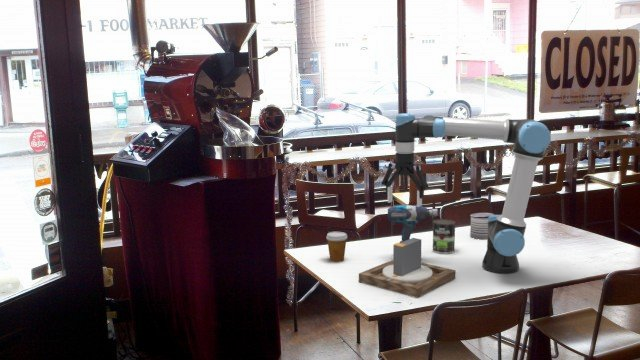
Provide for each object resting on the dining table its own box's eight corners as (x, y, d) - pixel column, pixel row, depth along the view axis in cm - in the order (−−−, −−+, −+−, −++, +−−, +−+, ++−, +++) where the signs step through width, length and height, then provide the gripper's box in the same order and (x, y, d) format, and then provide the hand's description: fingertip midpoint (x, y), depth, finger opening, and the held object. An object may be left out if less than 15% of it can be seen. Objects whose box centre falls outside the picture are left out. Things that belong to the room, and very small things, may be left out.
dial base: (455, 278, 257) (455, 269, 257) (417, 297, 237) (417, 288, 236) (398, 265, 276) (398, 256, 275) (358, 281, 255) (358, 273, 255)
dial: (401, 264, 270) (401, 232, 267) (441, 274, 257) (442, 240, 254) (372, 276, 255) (372, 242, 253) (414, 287, 242) (414, 251, 239)
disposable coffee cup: (351, 259, 285) (351, 233, 283) (338, 264, 278) (337, 238, 276) (336, 255, 291) (335, 230, 289) (322, 260, 285) (321, 234, 282)
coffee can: (452, 255, 289) (453, 225, 287) (430, 252, 293) (430, 223, 290) (456, 248, 299) (457, 220, 296) (435, 246, 302) (435, 218, 300)
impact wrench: (437, 263, 278) (438, 207, 273) (386, 260, 282) (386, 206, 278) (438, 257, 285) (439, 203, 281) (388, 255, 290) (388, 202, 285)
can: (479, 241, 311) (479, 217, 309) (465, 235, 322) (465, 212, 319) (497, 238, 316) (498, 214, 314) (483, 232, 326) (483, 210, 324)
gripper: (437, 153, 248) (436, 205, 252) (383, 149, 263) (382, 199, 267) (428, 155, 242) (427, 209, 246) (373, 151, 257) (373, 202, 261)
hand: (404, 204), depth 256 cm, fingers open, 13 cm apart
